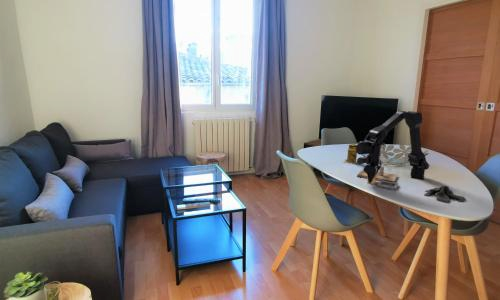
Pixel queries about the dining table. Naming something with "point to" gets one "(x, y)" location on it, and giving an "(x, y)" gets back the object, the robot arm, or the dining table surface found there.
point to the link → (384, 183)
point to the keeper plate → (384, 178)
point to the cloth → (444, 194)
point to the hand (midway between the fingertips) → (371, 180)
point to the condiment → (351, 154)
